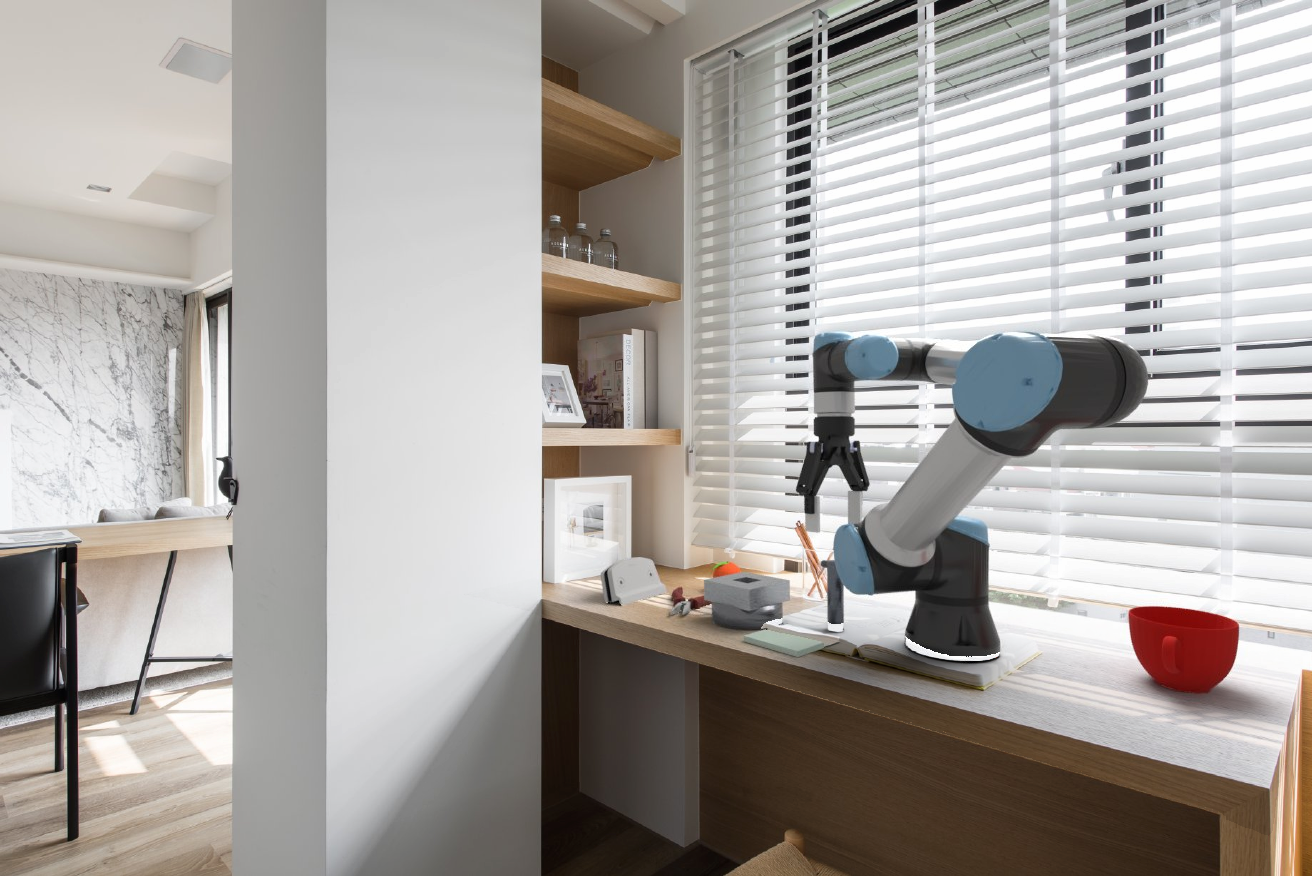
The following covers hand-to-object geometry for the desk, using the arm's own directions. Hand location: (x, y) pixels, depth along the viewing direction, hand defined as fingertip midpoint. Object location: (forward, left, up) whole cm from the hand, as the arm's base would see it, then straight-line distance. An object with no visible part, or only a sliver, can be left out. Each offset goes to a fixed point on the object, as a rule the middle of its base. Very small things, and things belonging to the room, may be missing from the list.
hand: (834, 528), depth 132 cm
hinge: (+47, +11, -20) cm, 52 cm away
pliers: (+34, +7, -20) cm, 40 cm away
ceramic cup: (-51, -11, -20) cm, 56 cm away
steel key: (0, 0, -19) cm, 19 cm away
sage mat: (+1, +12, -19) cm, 23 cm away
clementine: (+36, -8, -20) cm, 42 cm away
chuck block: (+16, +7, -19) cm, 26 cm away
